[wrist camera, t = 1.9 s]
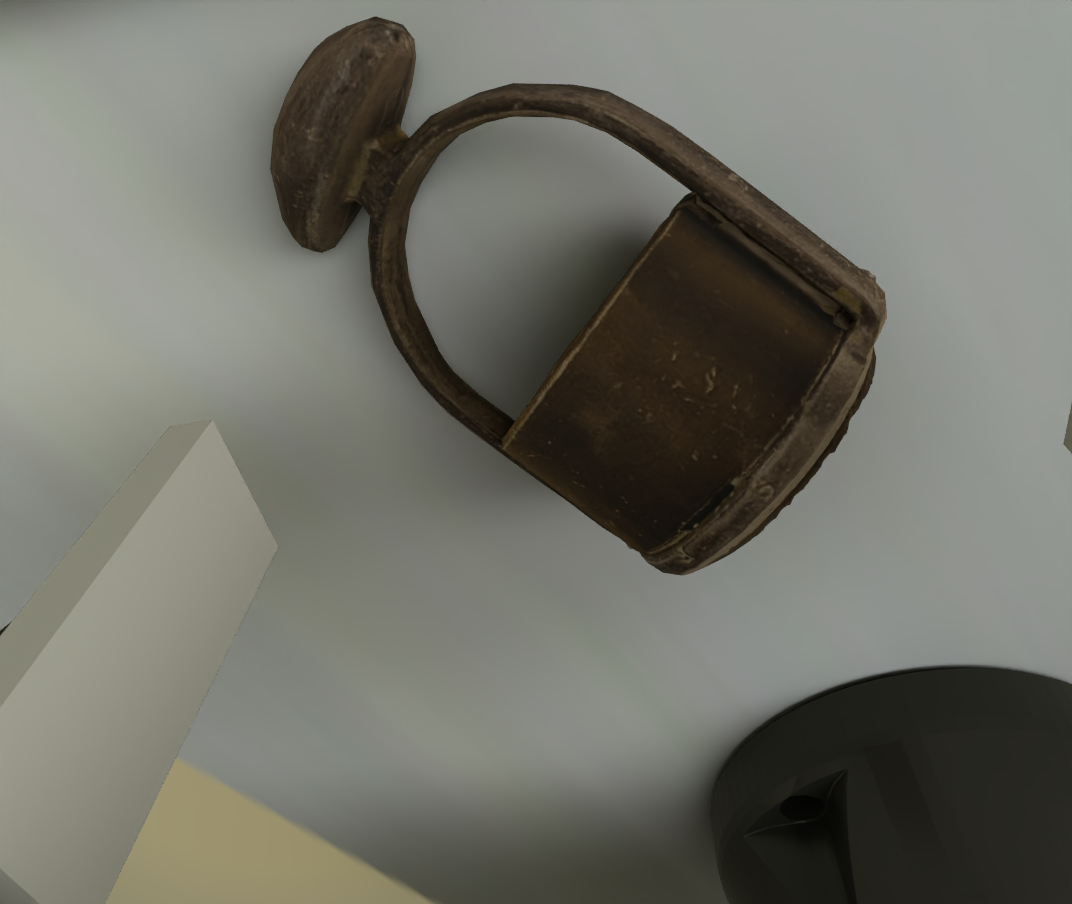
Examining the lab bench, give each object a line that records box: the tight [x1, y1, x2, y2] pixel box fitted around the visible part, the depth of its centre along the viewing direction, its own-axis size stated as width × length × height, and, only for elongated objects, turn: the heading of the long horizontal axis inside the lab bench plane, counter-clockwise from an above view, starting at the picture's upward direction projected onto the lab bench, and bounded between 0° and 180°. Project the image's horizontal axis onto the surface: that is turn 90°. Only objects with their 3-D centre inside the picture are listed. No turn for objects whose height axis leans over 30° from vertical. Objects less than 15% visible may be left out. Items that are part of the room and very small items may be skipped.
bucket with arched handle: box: [270, 17, 887, 575], centre depth 15 cm, size 7×13×10 cm
